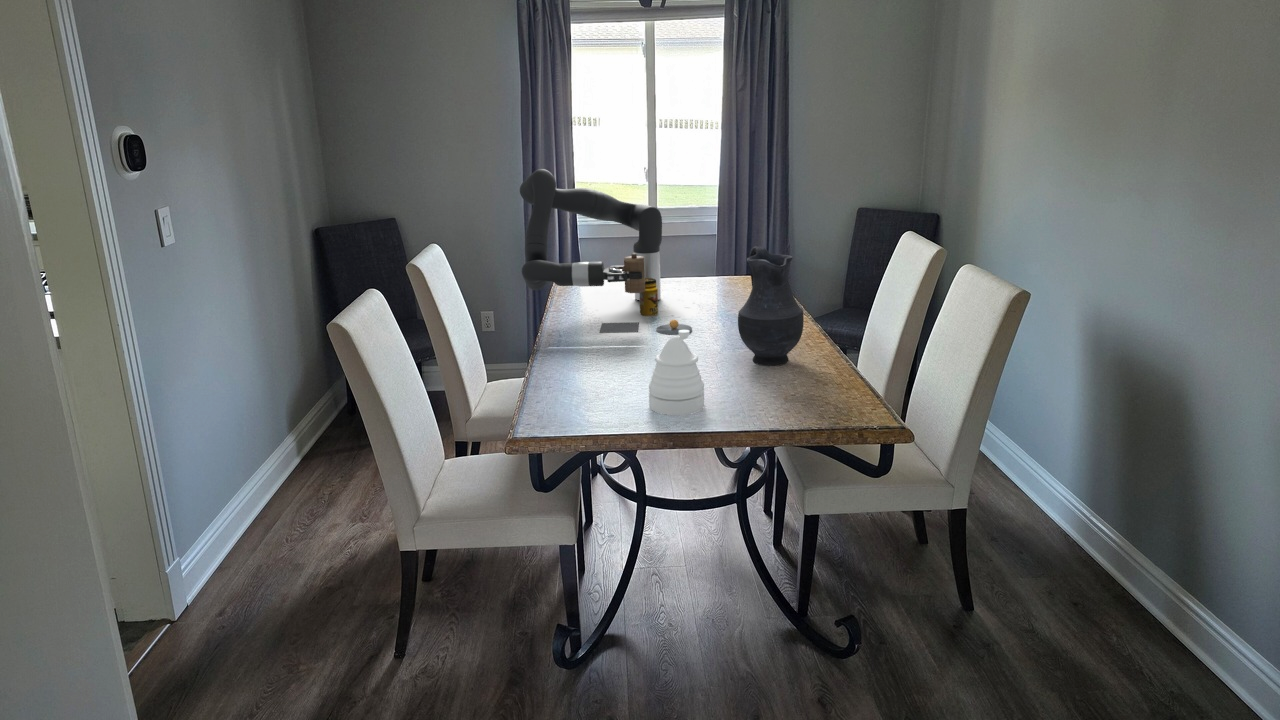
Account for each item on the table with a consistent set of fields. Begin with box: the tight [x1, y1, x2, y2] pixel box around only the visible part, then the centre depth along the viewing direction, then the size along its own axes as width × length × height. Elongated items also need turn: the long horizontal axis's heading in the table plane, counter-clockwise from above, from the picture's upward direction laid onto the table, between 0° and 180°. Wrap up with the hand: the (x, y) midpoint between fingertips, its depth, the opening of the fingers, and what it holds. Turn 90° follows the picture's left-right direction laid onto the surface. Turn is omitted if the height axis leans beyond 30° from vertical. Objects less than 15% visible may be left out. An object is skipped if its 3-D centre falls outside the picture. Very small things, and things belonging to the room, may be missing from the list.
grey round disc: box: [655, 323, 693, 336], centre depth 260 cm, size 11×11×1 cm
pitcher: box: [737, 245, 805, 367], centre depth 225 cm, size 17×21×30 cm
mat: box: [598, 321, 640, 334], centre depth 265 cm, size 12×12×1 cm
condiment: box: [639, 278, 659, 317], centre depth 279 cm, size 7×8×12 cm
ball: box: [668, 319, 680, 329], centre depth 260 cm, size 3×3×3 cm
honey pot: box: [648, 330, 705, 416], centre depth 195 cm, size 13×13×18 cm
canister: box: [623, 252, 645, 294], centre depth 258 cm, size 6×6×12 cm
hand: (642, 272), depth 258 cm, fingers closed on canister, 6 cm apart
